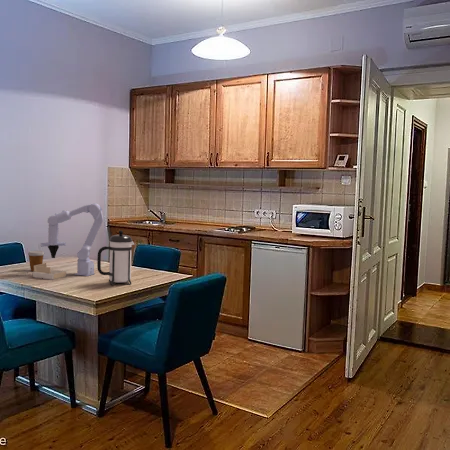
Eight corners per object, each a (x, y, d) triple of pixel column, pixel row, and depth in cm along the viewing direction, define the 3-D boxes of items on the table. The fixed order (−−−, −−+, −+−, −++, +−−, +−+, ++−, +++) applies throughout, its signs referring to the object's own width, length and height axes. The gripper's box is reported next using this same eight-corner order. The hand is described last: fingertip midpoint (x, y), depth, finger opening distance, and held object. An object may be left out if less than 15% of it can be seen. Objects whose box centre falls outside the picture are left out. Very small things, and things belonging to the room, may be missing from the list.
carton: (66, 276, 289) (66, 271, 289) (53, 279, 278) (53, 274, 278) (47, 274, 294) (47, 269, 294) (32, 277, 282) (32, 272, 282)
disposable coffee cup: (38, 272, 298) (38, 253, 297) (24, 271, 300) (24, 252, 299) (47, 269, 307) (47, 251, 306) (33, 268, 309) (33, 250, 308)
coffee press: (117, 279, 286) (118, 228, 284) (138, 282, 278) (140, 230, 275) (96, 283, 271) (97, 230, 269) (117, 287, 263) (118, 232, 261)
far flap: (46, 263, 293) (45, 263, 293) (33, 265, 283) (33, 265, 283) (46, 268, 293) (46, 268, 293) (34, 271, 283) (34, 271, 283)
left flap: (50, 267, 278) (50, 267, 278) (50, 273, 279) (50, 273, 279) (36, 265, 282) (35, 265, 281) (36, 271, 282) (36, 271, 282)
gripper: (43, 236, 285) (43, 259, 286) (67, 235, 294) (67, 258, 295) (39, 235, 291) (39, 257, 292) (63, 234, 300) (63, 256, 301)
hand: (53, 257), depth 294 cm, fingers closed
